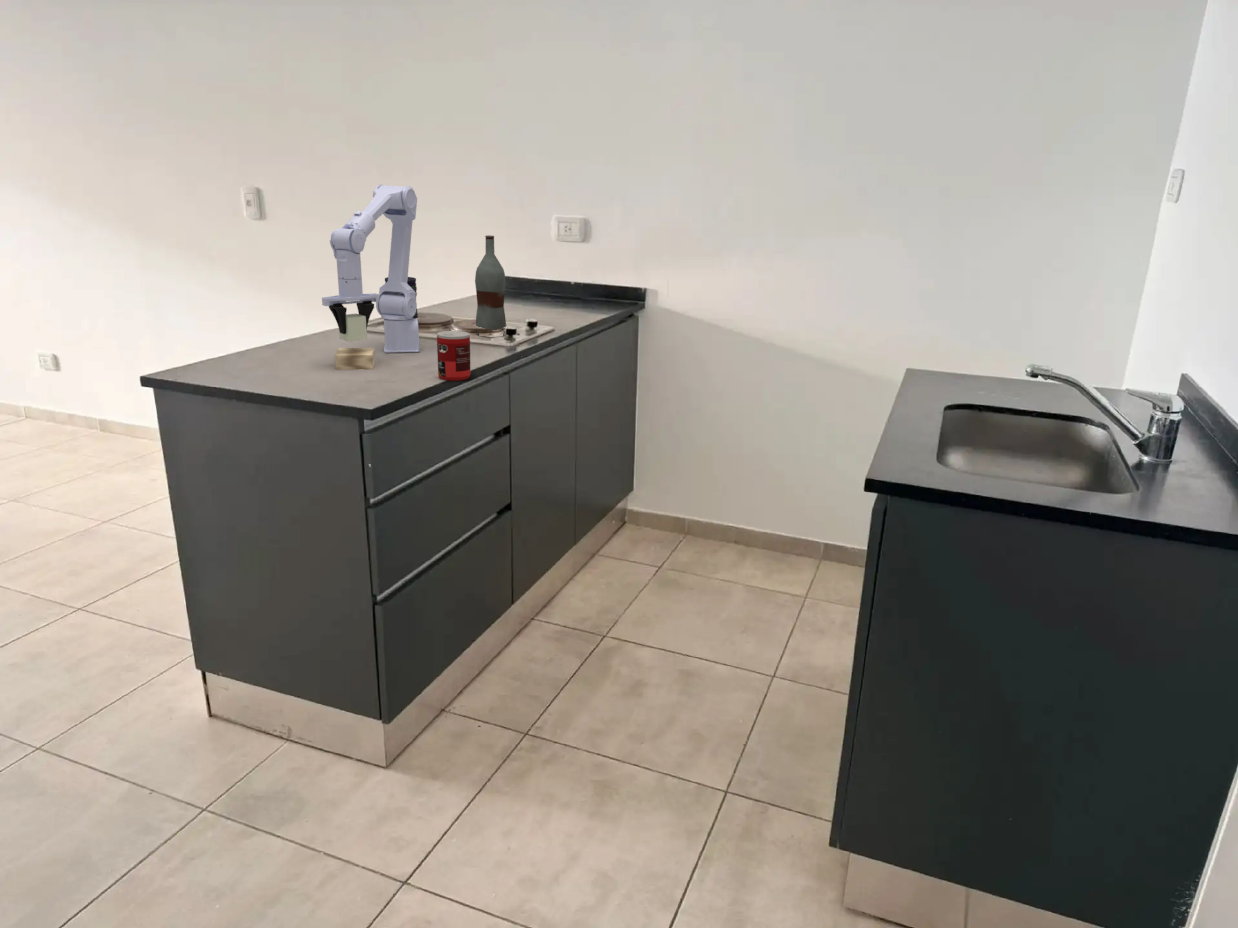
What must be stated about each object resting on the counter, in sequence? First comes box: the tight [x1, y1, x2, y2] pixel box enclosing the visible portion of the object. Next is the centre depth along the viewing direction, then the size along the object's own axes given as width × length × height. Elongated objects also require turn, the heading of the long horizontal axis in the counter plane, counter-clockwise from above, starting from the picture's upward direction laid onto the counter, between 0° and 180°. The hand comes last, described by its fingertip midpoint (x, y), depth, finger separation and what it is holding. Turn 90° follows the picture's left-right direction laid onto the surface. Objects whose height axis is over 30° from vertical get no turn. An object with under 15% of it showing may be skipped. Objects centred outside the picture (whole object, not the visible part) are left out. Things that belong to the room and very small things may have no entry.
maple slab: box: [334, 347, 376, 371], centre depth 218 cm, size 9×9×4 cm
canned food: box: [436, 330, 471, 382], centre depth 209 cm, size 8×8×11 cm
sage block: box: [338, 313, 368, 343], centre depth 216 cm, size 5×5×6 cm
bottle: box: [474, 234, 507, 330], centre depth 259 cm, size 9×9×30 cm
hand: (353, 332), depth 216 cm, fingers closed on sage block, 5 cm apart
